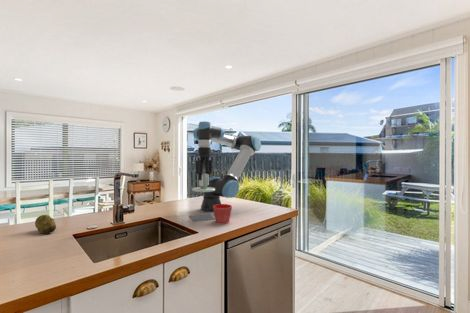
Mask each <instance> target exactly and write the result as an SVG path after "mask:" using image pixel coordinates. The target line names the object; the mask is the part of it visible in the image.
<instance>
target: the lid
mask: <svg viewBox="0 0 470 313" xmlns="http://www.w3.org/2000/svg"><path fill="white" fill-rule="evenodd" d="M202 175H203V186H200V185H199V186H197V187H196V186H195V187H192V192H196V193H203V192H212V191H215V188H213V187H207V186H208V174H206V172H205V173H202Z"/></svg>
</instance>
